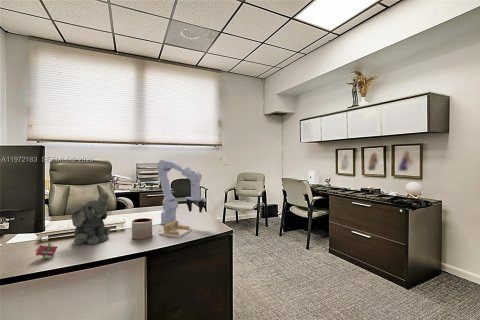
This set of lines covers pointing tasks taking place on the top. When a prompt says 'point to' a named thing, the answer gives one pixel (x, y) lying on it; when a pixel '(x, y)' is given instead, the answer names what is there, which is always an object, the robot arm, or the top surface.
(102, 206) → the stuffed elephant
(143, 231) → the planter
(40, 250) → the geometric puzzle
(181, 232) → the stand
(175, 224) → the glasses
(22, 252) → the top surface
